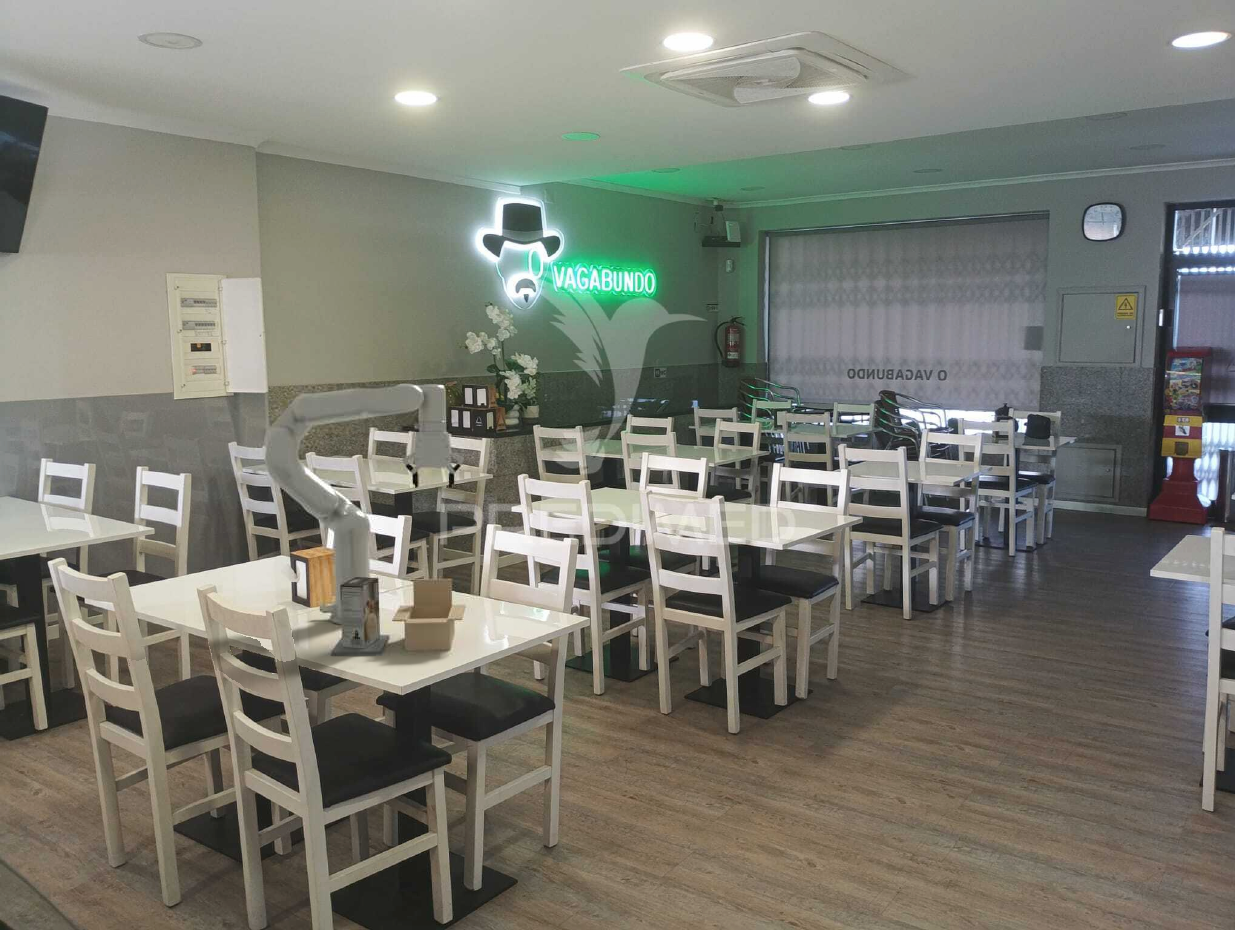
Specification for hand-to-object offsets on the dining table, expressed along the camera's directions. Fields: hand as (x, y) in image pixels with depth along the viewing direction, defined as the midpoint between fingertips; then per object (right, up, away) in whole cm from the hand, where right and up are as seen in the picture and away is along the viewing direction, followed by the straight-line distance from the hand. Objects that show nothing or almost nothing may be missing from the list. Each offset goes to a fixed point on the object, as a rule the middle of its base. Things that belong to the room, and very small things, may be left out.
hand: (433, 487), depth 271 cm
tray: (-12, -40, -32) cm, 53 cm away
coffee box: (-12, -39, -32) cm, 52 cm away
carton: (+5, -40, -29) cm, 49 cm away
